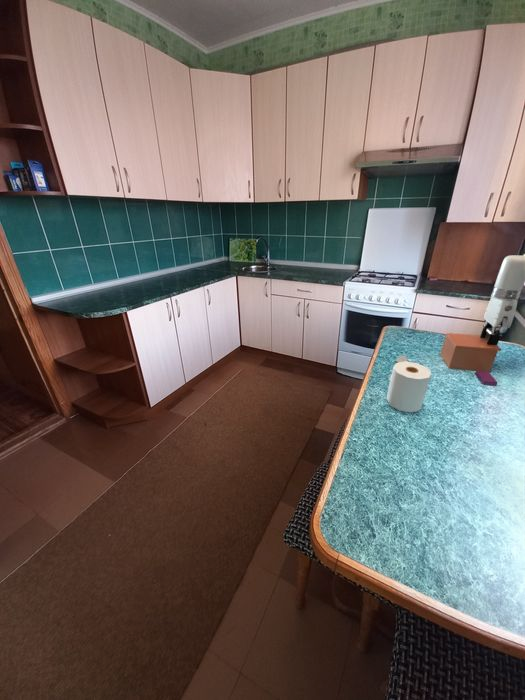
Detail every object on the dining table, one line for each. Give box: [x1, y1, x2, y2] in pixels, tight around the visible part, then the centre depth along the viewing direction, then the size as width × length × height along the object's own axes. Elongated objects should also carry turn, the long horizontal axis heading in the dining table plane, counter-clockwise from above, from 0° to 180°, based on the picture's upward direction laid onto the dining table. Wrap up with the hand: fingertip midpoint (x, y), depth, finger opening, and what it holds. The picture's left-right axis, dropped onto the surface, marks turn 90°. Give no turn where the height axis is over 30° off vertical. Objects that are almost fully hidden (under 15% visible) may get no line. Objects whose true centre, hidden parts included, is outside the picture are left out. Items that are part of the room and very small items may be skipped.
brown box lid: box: [445, 328, 502, 352], centre depth 108 cm, size 14×12×5 cm
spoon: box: [388, 355, 409, 382], centre depth 109 cm, size 4×21×2 cm, turn 145°
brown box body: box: [439, 335, 499, 373], centre depth 111 cm, size 14×12×9 cm
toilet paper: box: [386, 361, 432, 414], centre depth 89 cm, size 10×10×12 cm
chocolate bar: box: [474, 371, 498, 387], centre depth 102 cm, size 7×4×2 cm, turn 166°
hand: (488, 340), depth 108 cm, fingers closed on brown box lid, 5 cm apart
